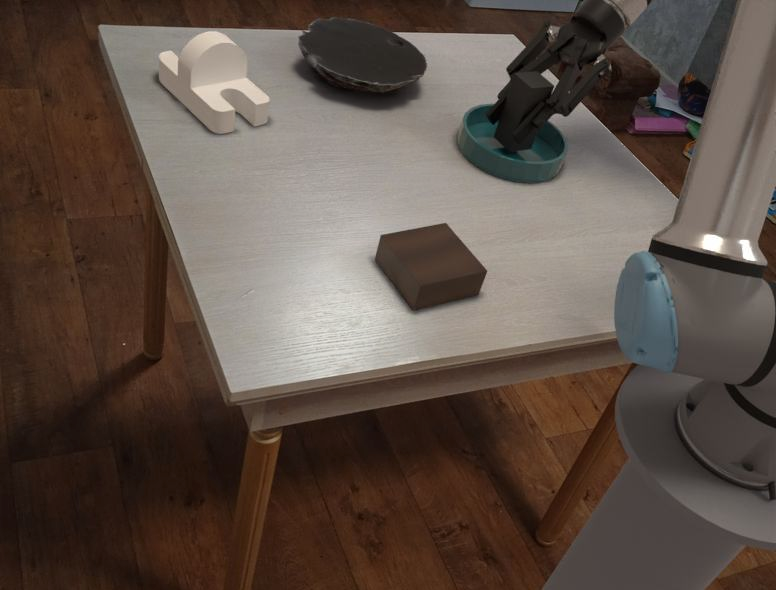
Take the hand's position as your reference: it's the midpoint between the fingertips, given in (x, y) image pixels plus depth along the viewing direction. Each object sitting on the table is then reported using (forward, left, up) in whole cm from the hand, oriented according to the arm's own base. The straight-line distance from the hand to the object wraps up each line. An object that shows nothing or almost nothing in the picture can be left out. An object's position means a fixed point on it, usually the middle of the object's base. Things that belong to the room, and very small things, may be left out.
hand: (502, 129), depth 127 cm
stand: (-22, +26, -5) cm, 35 cm away
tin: (+1, -4, -5) cm, 6 cm away
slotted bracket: (+24, +38, -5) cm, 45 cm away
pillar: (+1, -4, -3) cm, 5 cm away
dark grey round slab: (+27, +10, -5) cm, 29 cm away
